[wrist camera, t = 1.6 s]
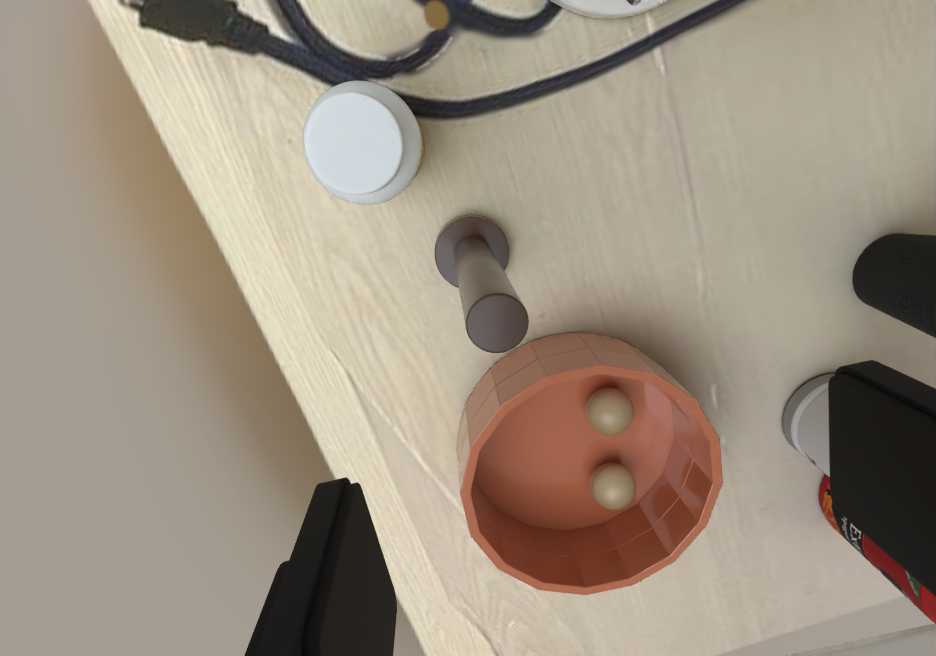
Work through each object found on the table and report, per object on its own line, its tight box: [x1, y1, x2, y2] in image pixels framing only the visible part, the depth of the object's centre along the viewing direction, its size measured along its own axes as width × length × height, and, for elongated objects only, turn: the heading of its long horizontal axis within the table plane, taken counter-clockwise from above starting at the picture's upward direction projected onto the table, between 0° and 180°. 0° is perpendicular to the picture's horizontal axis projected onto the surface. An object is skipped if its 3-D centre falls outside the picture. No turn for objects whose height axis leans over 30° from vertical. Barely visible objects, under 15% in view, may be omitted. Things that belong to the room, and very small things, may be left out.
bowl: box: [457, 332, 723, 595], centre depth 35 cm, size 15×15×6 cm
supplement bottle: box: [303, 81, 424, 205], centre depth 27 cm, size 5×5×10 cm
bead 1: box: [586, 388, 634, 435], centre depth 35 cm, size 3×3×3 cm
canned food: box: [819, 475, 936, 624], centre depth 35 cm, size 8×8×11 cm
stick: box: [435, 215, 529, 353], centre depth 26 cm, size 4×4×15 cm
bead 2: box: [590, 463, 636, 510], centre depth 36 cm, size 3×3×3 cm
